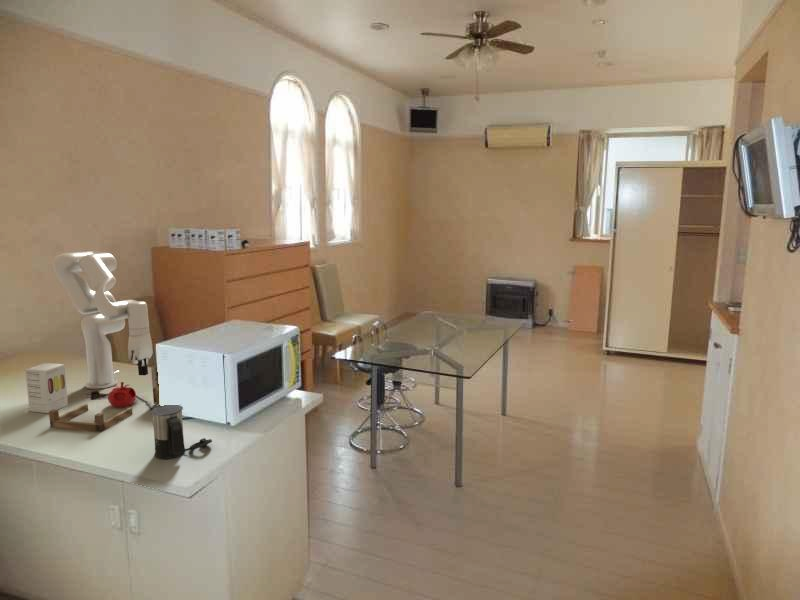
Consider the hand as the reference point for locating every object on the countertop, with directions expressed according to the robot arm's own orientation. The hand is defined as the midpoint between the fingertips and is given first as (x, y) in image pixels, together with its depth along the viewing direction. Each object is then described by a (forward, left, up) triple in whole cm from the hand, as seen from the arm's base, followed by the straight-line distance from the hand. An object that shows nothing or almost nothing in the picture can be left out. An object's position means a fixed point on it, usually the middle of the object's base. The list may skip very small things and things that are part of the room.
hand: (143, 374), depth 226 cm
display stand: (+29, -1, -9) cm, 31 cm away
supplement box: (+22, -26, -9) cm, 35 cm away
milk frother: (+46, +45, -9) cm, 65 cm away
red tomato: (+13, -1, -9) cm, 16 cm away
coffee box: (+9, +16, -9) cm, 20 cm away
